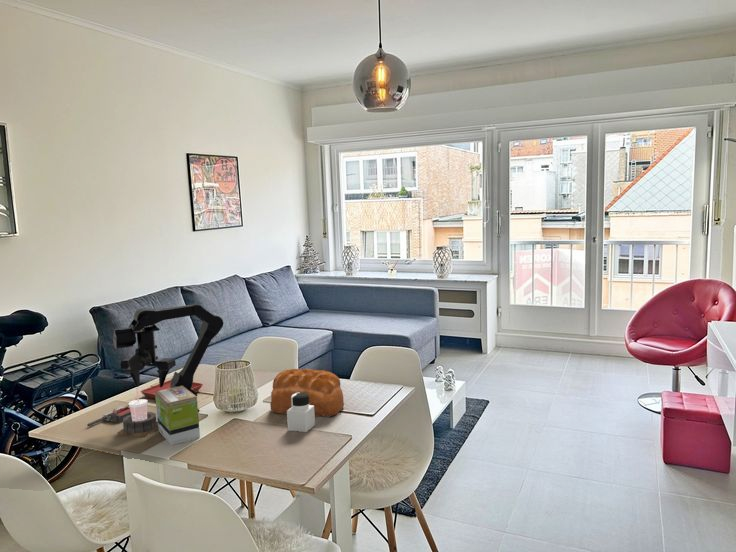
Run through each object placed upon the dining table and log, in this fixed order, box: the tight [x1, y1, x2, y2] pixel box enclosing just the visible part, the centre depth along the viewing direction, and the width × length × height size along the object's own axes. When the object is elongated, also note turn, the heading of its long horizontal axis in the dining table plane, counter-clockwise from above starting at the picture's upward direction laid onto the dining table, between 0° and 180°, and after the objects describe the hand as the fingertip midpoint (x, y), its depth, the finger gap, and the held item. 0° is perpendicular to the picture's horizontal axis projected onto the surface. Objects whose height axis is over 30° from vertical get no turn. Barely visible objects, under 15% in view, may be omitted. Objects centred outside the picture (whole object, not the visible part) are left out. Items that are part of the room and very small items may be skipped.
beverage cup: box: [128, 387, 149, 422], centre depth 196 cm, size 6×6×14 cm
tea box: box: [155, 386, 201, 446], centre depth 190 cm, size 15×10×15 cm
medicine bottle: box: [286, 392, 316, 433], centre depth 193 cm, size 7×7×12 cm
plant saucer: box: [139, 379, 204, 400], centre depth 235 cm, size 18×18×3 cm
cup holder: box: [116, 411, 158, 437], centre depth 197 cm, size 11×11×4 cm
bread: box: [269, 368, 345, 417], centre depth 211 cm, size 14×26×16 cm, turn 73°
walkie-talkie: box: [86, 403, 131, 427], centre depth 208 cm, size 9×4×20 cm
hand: (149, 386), depth 203 cm, fingers open, 9 cm apart
